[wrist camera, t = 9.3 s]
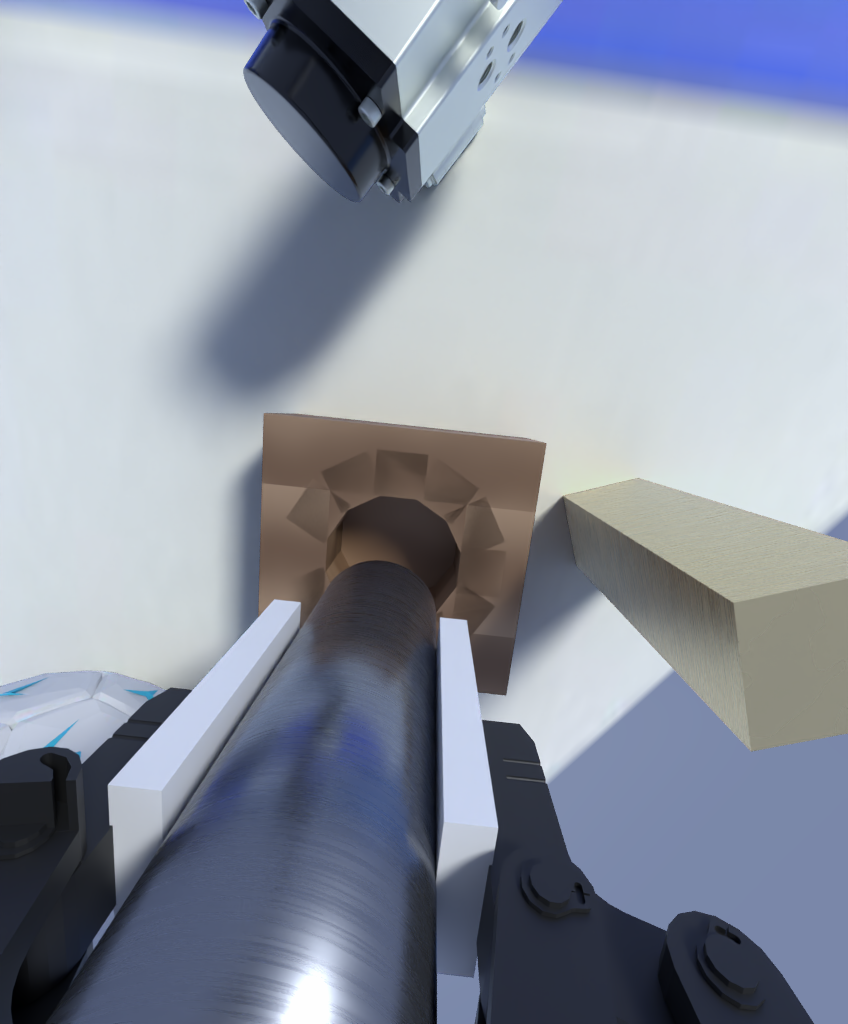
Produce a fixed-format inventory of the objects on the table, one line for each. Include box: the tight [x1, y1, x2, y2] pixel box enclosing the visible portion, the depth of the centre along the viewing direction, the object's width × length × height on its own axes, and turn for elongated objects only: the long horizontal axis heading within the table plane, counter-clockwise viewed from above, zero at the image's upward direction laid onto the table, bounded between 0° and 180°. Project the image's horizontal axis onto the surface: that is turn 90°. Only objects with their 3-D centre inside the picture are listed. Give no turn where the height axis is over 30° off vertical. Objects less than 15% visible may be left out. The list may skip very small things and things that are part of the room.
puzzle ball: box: [0, 671, 166, 950], centre depth 20 cm, size 15×15×15 cm
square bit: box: [563, 478, 848, 751], centre depth 17 cm, size 4×4×14 cm
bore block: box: [258, 413, 546, 695], centre depth 22 cm, size 12×12×4 cm
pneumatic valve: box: [243, 0, 563, 203], centre depth 15 cm, size 6×12×12 cm, turn 139°
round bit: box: [46, 560, 437, 1024], centre depth 9 cm, size 4×4×14 cm
